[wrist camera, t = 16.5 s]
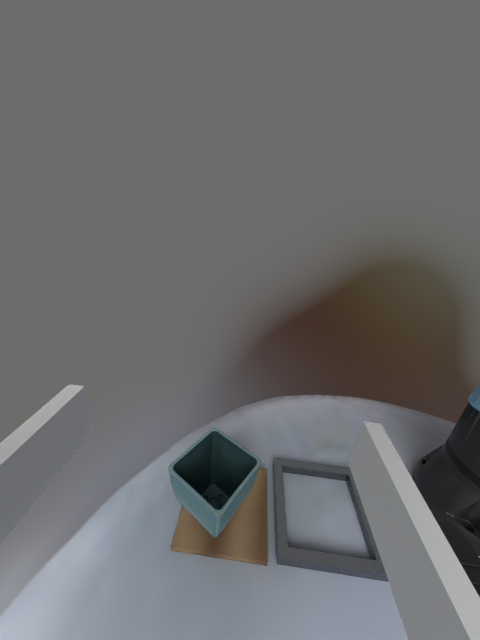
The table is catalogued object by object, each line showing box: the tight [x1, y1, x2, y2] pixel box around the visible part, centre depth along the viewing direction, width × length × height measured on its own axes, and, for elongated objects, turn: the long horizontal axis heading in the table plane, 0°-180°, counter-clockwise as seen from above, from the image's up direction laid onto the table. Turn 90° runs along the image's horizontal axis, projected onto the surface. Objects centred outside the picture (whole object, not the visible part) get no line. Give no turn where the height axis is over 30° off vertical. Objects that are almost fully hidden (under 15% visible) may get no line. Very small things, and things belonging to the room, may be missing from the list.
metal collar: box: [273, 458, 388, 581], centre depth 36 cm, size 13×13×2 cm
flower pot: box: [168, 428, 261, 538], centre depth 33 cm, size 9×9×9 cm
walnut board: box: [171, 468, 267, 565], centre depth 36 cm, size 12×12×1 cm
